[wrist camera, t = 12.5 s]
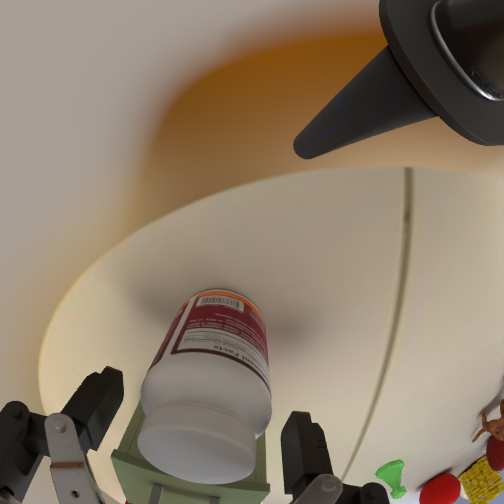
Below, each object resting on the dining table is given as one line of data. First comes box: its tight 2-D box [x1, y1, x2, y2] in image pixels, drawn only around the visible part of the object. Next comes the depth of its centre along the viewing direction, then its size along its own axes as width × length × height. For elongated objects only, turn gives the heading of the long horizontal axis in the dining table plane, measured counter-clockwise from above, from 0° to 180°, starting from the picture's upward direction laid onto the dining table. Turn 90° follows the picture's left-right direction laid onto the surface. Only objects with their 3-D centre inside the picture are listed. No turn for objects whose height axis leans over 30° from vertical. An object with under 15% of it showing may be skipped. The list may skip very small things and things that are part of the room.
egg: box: [460, 484, 468, 499], centre depth 29 cm, size 6×6×8 cm
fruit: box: [419, 474, 461, 504], centre depth 24 cm, size 9×9×10 cm
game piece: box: [376, 460, 407, 499], centre depth 22 cm, size 4×4×6 cm
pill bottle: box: [137, 290, 272, 484], centre depth 13 cm, size 6×6×11 cm
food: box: [459, 455, 504, 504], centre depth 23 cm, size 15×12×10 cm
